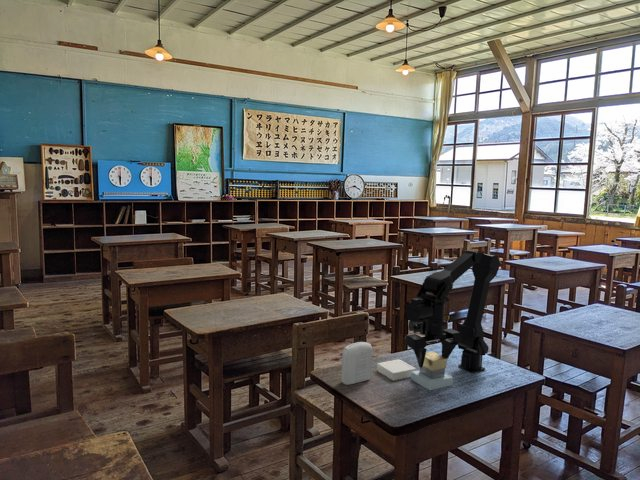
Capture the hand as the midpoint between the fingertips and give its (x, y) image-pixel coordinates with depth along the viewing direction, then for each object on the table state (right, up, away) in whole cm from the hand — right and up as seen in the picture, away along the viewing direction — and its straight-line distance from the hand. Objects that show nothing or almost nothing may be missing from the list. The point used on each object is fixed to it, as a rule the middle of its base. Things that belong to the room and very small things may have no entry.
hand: (432, 364), depth 152 cm
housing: (0, -3, 0) cm, 3 cm away
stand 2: (0, -6, +1) cm, 6 cm away
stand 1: (-10, -5, +7) cm, 13 cm away
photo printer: (-24, -5, +1) cm, 24 cm away
